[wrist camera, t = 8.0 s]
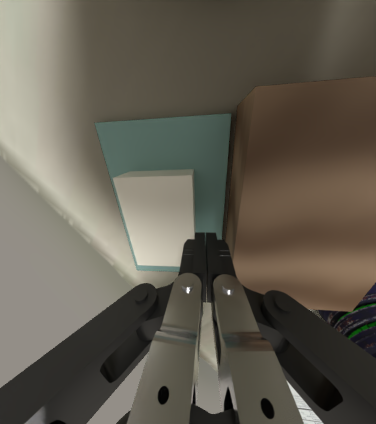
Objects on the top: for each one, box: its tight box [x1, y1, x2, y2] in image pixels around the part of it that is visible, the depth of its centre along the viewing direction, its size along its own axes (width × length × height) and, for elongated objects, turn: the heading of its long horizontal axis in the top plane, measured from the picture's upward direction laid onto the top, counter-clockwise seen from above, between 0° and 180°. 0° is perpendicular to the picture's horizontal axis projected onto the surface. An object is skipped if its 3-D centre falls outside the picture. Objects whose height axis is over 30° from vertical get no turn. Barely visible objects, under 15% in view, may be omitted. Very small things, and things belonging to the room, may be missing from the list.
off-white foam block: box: [113, 169, 196, 267], centre depth 13 cm, size 9×6×3 cm, turn 3°
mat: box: [95, 113, 231, 272], centre depth 15 cm, size 17×11×1 cm, turn 3°
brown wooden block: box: [225, 76, 376, 312], centre depth 12 cm, size 18×12×4 cm, turn 3°
